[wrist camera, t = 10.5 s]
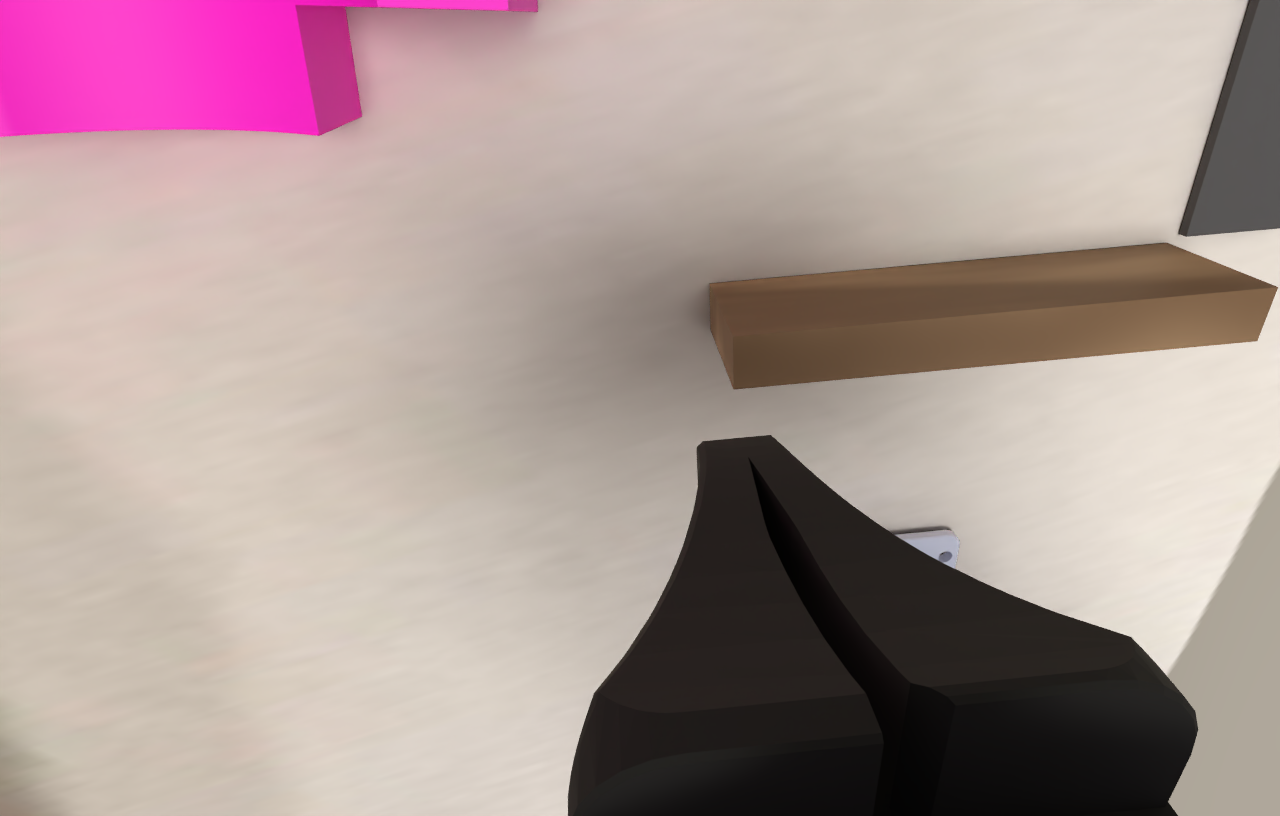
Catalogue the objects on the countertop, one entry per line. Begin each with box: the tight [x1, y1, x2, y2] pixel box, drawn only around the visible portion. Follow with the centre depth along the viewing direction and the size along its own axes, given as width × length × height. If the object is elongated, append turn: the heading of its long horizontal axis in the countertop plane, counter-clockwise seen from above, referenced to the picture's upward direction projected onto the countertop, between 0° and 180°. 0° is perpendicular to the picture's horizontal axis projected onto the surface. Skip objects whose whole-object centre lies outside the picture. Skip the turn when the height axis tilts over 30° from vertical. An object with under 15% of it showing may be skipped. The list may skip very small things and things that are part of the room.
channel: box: [710, 243, 1278, 389], centre depth 17 cm, size 12×14×4 cm
